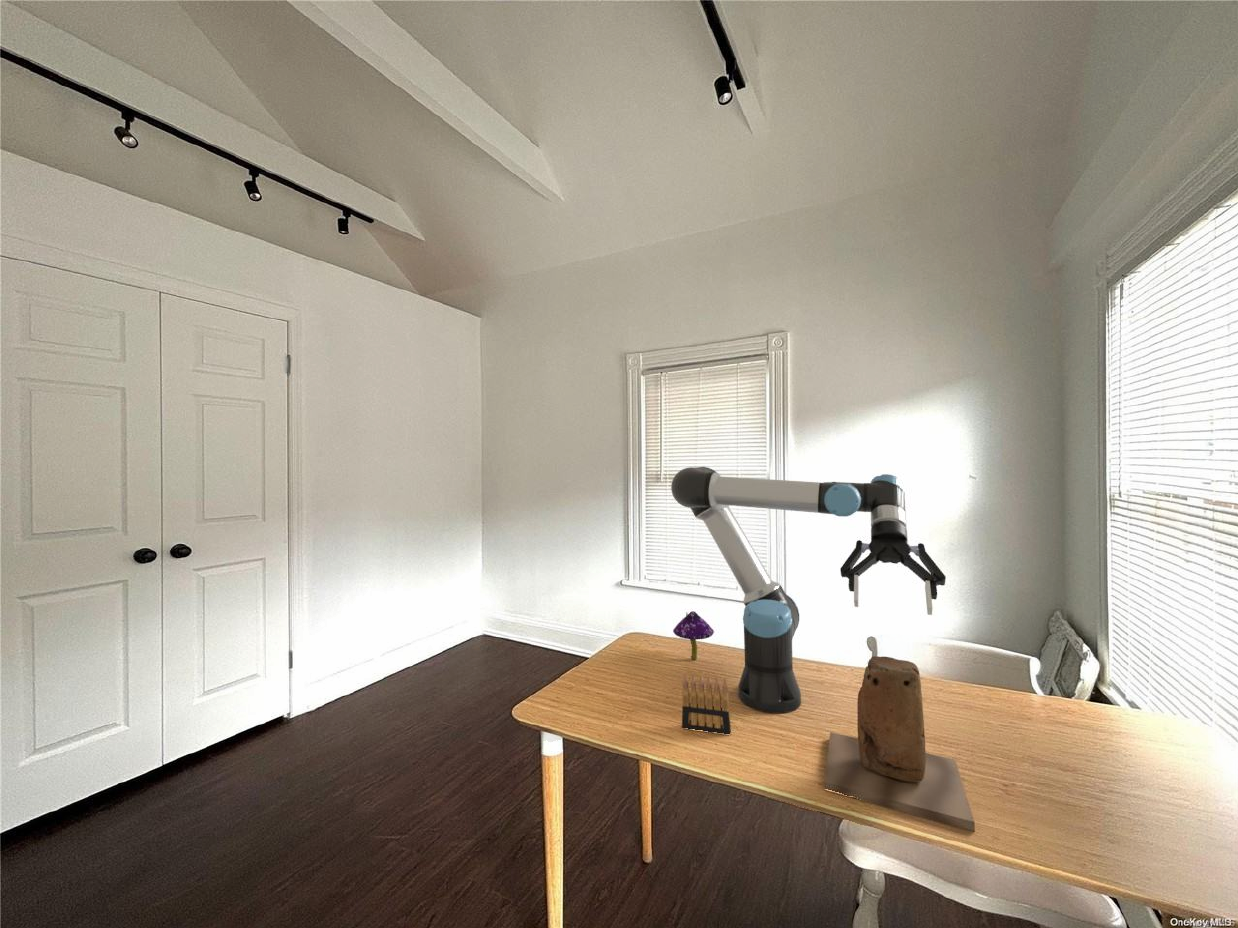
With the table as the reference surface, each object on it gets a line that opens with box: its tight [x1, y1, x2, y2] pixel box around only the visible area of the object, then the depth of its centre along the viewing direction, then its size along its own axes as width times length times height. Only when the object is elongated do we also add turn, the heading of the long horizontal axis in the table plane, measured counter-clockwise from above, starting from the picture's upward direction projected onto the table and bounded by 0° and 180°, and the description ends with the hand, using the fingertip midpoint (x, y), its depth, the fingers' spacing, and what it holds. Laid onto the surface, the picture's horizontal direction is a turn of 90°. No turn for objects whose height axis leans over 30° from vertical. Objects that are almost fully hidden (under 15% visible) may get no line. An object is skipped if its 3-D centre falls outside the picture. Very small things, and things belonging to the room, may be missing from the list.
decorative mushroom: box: [672, 610, 715, 661], centre depth 144 cm, size 12×12×15 cm
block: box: [856, 655, 927, 782], centre depth 88 cm, size 11×8×20 cm
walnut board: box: [823, 732, 976, 832], centre depth 87 cm, size 22×18×2 cm
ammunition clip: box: [681, 673, 732, 734], centre depth 105 cm, size 11×2×12 cm, turn 73°
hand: (891, 607), depth 100 cm, fingers open, 13 cm apart
